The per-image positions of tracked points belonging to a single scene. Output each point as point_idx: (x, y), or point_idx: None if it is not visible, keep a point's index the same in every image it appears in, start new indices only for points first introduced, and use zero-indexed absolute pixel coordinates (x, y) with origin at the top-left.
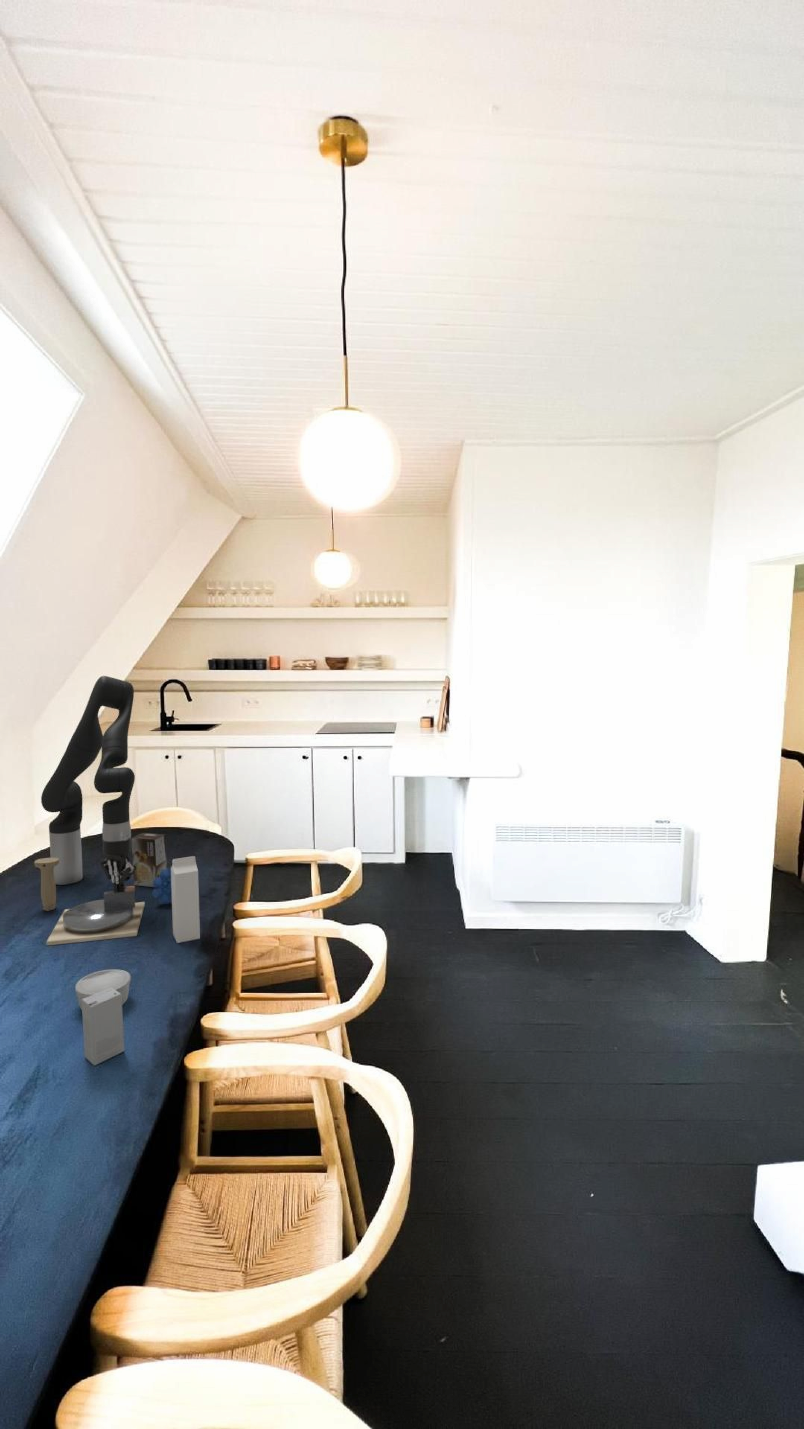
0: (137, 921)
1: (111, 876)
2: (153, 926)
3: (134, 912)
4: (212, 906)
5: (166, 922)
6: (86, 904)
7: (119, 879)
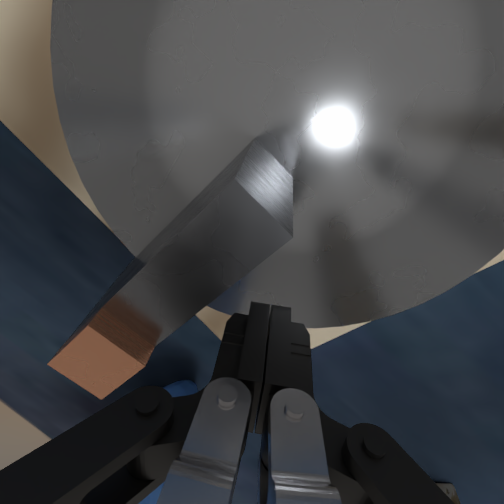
0: (83, 190)
1: (322, 462)
2: (14, 199)
3: None
4: (17, 405)
5: (11, 253)
6: (501, 197)
7: (193, 428)
